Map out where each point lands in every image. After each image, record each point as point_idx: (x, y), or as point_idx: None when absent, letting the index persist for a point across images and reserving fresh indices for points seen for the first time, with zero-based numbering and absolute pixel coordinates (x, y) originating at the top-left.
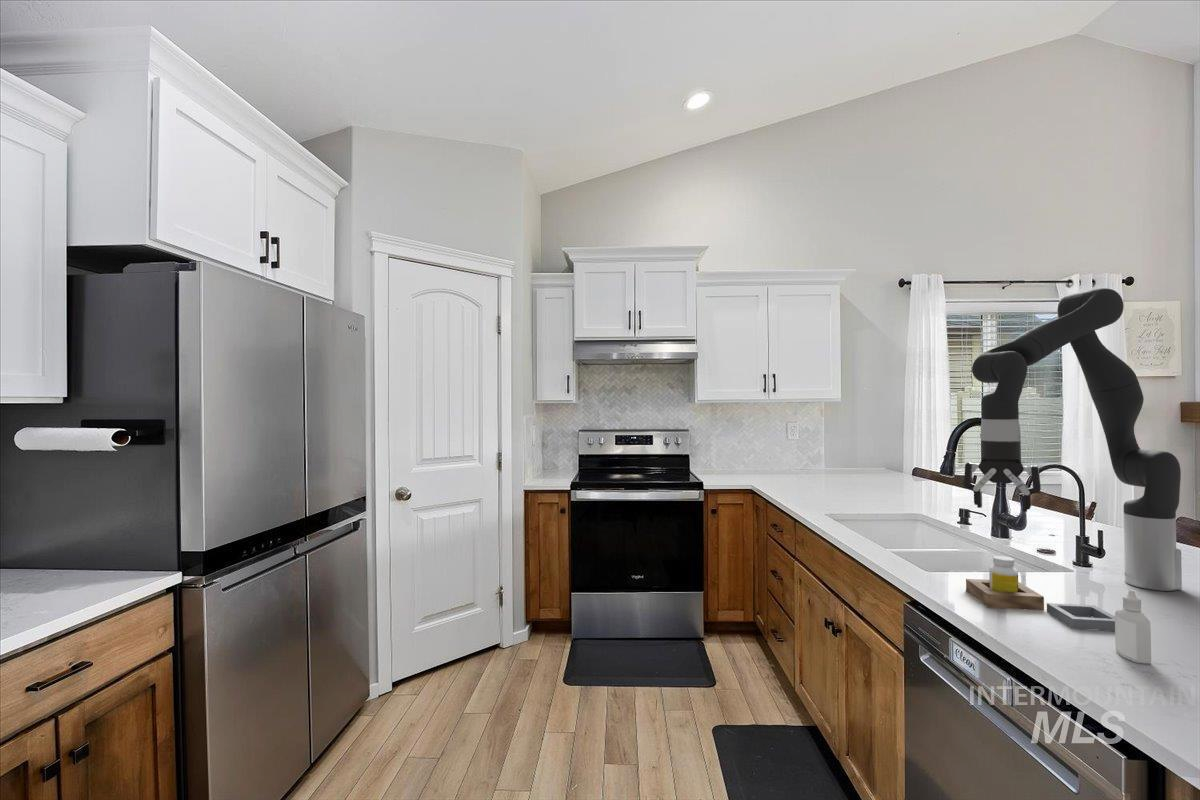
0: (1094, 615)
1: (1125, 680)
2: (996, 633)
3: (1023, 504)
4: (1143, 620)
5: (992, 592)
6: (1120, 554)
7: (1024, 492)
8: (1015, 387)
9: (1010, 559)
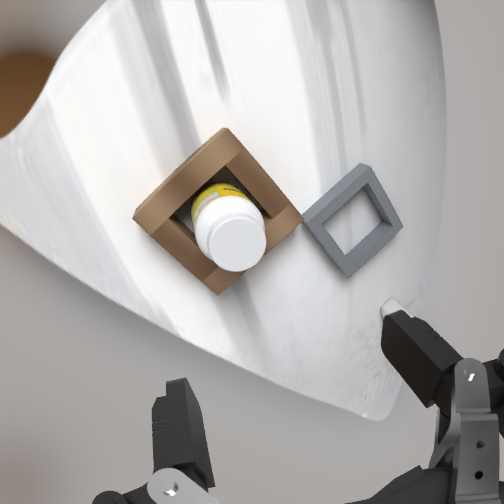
0: (364, 185)
1: (377, 368)
2: (264, 369)
3: (403, 372)
4: None
5: (219, 276)
6: None
7: (443, 416)
8: None
9: (258, 246)
